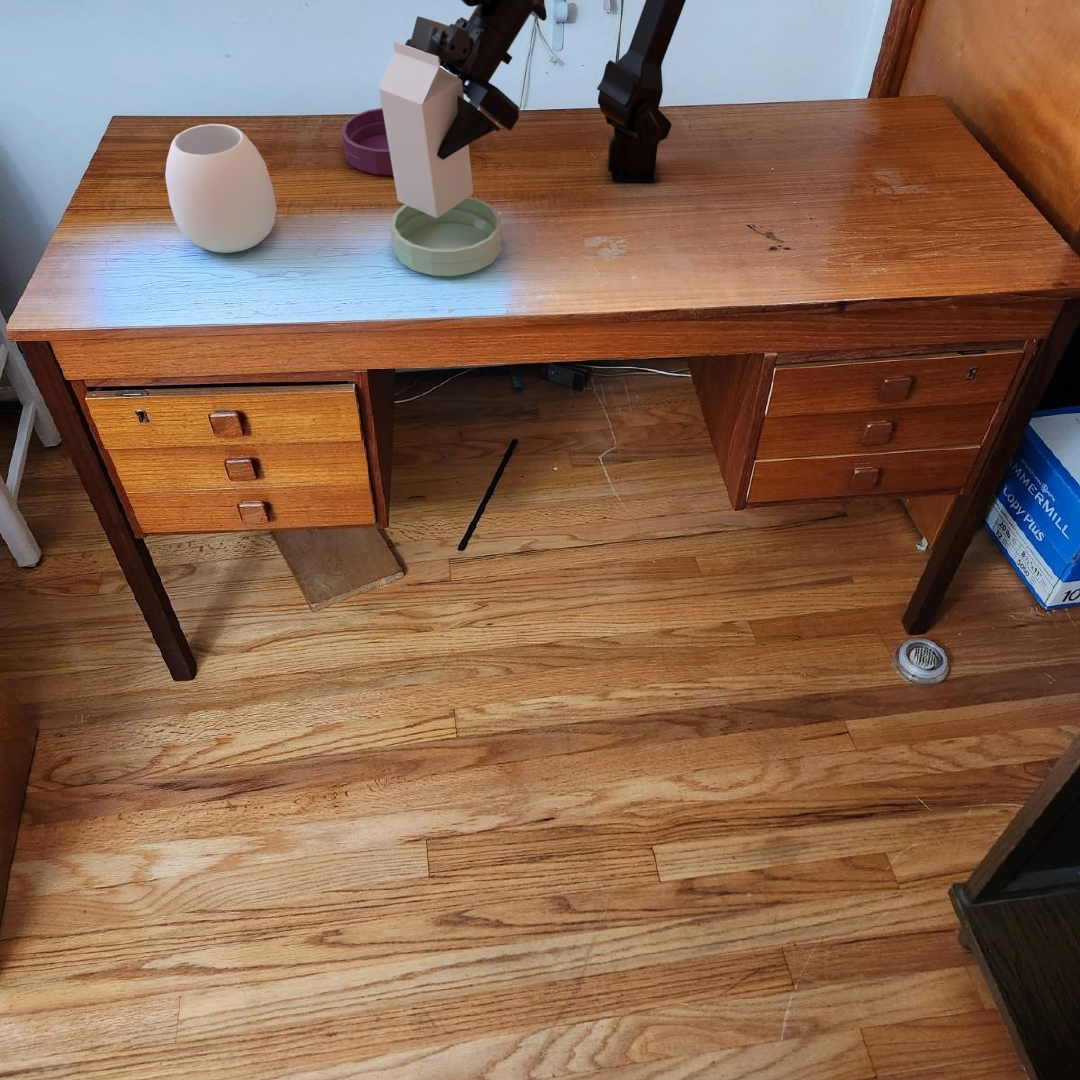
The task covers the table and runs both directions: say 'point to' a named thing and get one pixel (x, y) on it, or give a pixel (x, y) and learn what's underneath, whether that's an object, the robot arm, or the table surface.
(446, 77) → the milk carton
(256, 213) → the cup
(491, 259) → the celadon bowl
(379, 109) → the plum bowl
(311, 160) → the table surface
